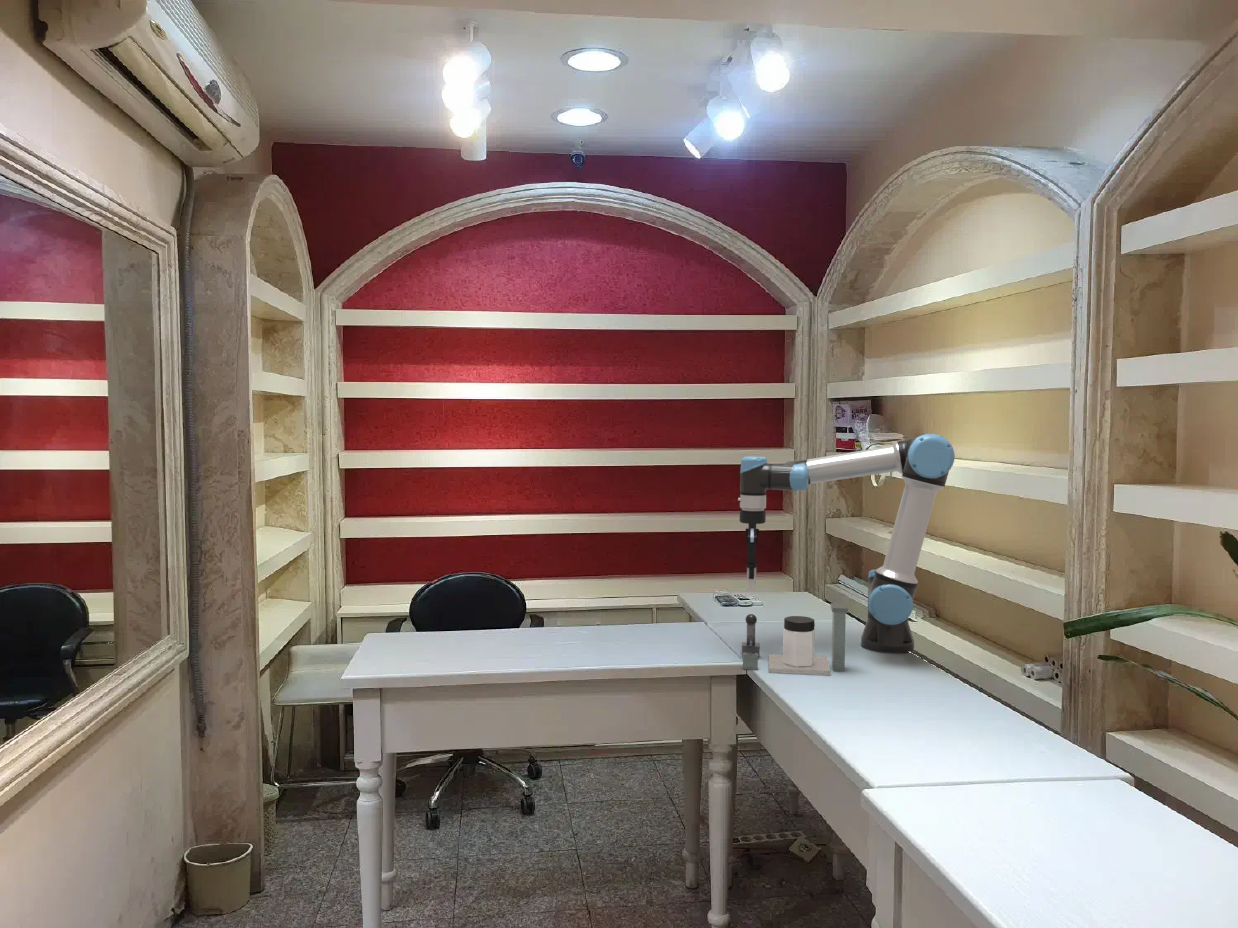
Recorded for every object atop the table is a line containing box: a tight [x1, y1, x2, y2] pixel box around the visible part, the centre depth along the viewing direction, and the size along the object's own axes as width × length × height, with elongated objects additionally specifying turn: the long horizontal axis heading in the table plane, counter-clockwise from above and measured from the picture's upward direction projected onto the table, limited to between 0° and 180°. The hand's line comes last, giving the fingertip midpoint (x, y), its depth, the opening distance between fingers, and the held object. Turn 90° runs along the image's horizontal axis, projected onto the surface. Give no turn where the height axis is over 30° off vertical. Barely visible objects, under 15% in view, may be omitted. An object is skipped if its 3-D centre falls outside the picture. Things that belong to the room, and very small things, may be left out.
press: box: [742, 602, 849, 676], centre depth 241 cm, size 28×17×17 cm, turn 81°
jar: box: [782, 615, 816, 667], centre depth 239 cm, size 9×8×12 cm
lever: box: [741, 613, 761, 656], centre depth 249 cm, size 5×4×11 cm
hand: (751, 589), depth 257 cm, fingers closed
